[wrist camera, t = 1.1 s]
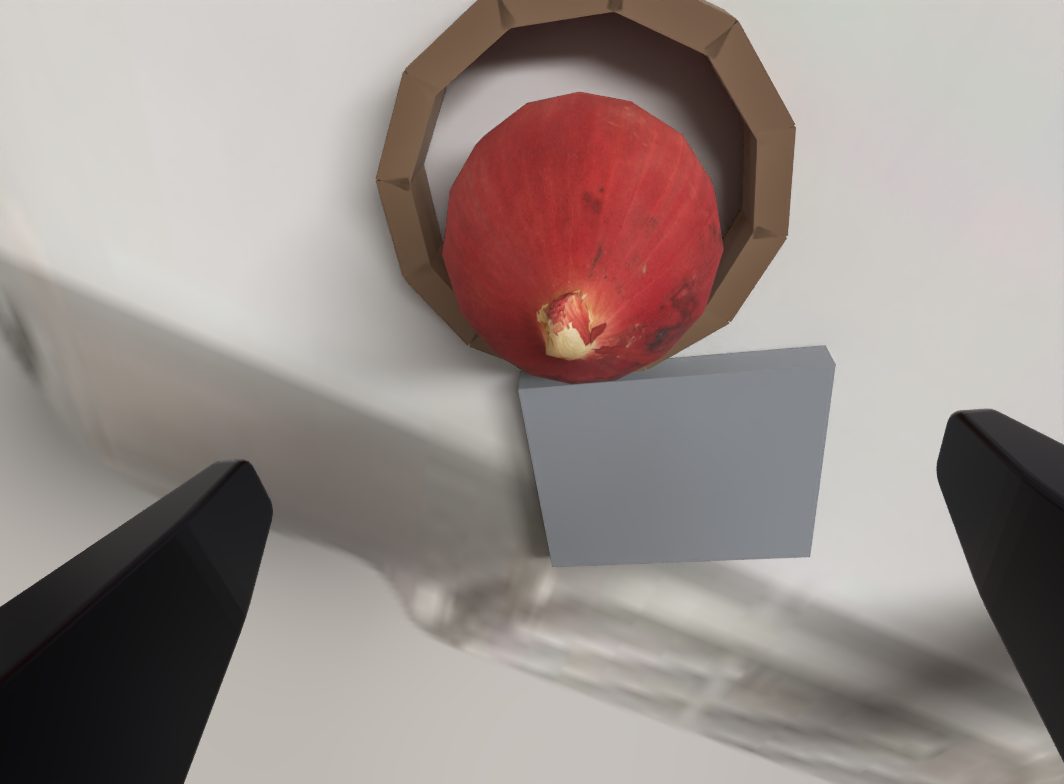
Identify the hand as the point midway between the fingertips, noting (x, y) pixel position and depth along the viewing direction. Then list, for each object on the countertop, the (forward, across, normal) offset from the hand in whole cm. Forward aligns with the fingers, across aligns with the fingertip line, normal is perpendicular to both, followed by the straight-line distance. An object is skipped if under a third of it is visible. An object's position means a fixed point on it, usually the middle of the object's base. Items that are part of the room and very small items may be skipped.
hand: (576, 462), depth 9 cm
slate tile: (+11, -2, +9) cm, 14 cm away
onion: (+11, 0, 0) cm, 11 cm away
